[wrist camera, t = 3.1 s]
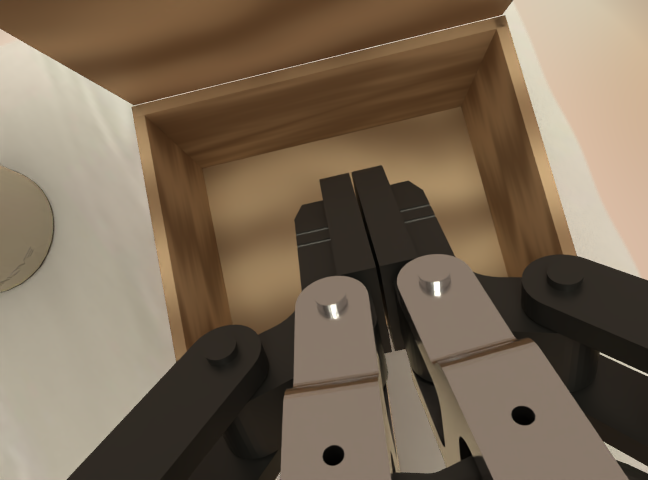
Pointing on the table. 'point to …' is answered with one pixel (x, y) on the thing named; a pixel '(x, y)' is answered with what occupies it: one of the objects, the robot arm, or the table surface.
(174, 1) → the flap
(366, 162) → the brown wooden box
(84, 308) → the table surface
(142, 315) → the table surface
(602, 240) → the table surface
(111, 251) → the table surface
